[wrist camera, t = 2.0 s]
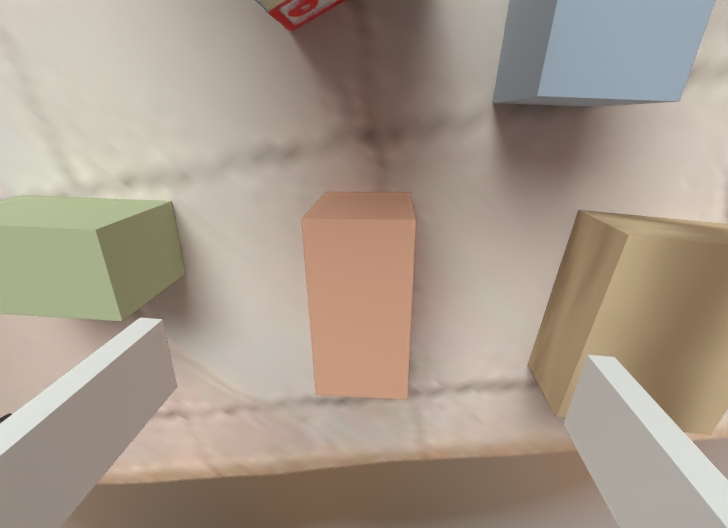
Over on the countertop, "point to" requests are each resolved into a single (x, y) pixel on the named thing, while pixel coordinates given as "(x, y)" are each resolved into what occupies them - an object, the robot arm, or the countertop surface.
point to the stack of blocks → (296, 10)
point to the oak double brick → (641, 313)
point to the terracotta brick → (360, 292)
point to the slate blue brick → (599, 51)
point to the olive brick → (85, 255)
